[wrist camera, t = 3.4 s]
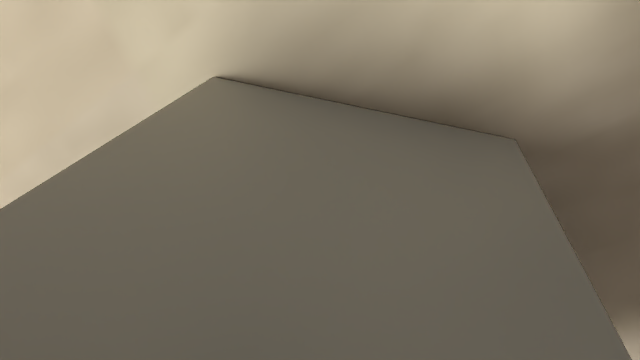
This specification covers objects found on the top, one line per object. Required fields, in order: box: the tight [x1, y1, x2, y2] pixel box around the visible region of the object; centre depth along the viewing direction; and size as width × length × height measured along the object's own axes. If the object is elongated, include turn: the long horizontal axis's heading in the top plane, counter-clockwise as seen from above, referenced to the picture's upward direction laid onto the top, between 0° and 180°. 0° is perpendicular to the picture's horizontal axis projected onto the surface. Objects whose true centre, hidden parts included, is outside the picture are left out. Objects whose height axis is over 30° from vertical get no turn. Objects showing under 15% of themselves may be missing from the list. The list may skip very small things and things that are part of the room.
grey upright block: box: [0, 77, 632, 360], centre depth 8 cm, size 8×8×9 cm
